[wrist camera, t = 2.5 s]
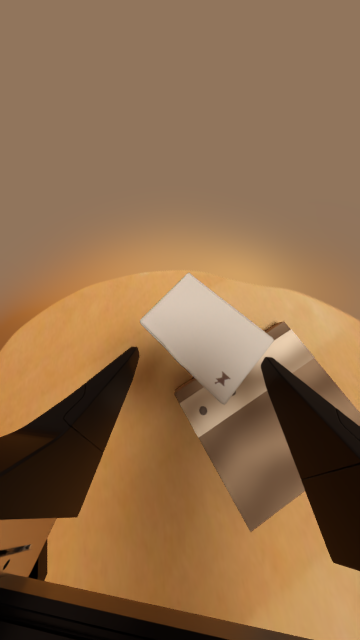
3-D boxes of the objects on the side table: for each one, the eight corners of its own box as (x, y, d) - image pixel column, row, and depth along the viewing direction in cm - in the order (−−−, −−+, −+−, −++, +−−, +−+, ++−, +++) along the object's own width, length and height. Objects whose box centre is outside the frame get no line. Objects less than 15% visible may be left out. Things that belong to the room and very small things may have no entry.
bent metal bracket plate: (360, 426, 15) (381, 436, 14) (244, 513, 14) (251, 535, 13) (276, 323, 18) (285, 321, 17) (175, 389, 17) (174, 394, 16)
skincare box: (220, 345, 18) (281, 341, 6) (200, 368, 18) (224, 412, 6) (188, 316, 19) (188, 268, 7) (167, 337, 19) (134, 322, 7)
